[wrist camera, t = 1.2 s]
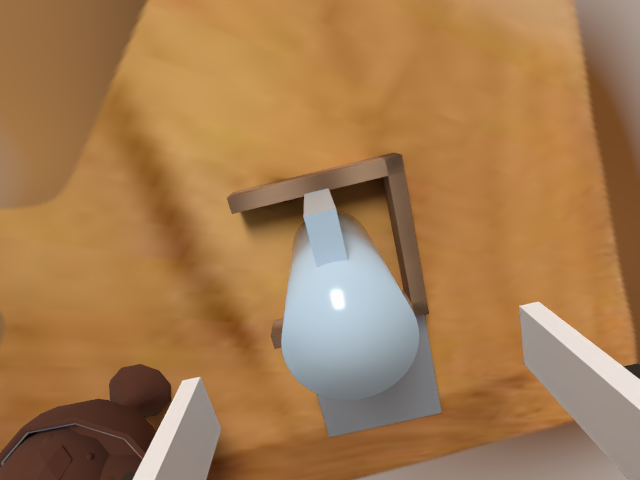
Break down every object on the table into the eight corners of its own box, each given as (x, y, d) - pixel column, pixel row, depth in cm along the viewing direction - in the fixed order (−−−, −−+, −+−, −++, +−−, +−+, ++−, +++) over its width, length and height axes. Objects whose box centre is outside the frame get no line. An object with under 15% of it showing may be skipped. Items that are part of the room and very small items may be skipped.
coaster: (329, 435, 36) (329, 437, 36) (301, 338, 33) (301, 340, 33) (440, 410, 36) (441, 412, 35) (423, 310, 32) (423, 312, 32)
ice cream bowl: (225, 383, 34) (164, 570, 20) (153, 456, 36) (51, 673, 22) (126, 314, 32) (-24, 469, 17) (56, 397, 34) (-131, 596, 19)
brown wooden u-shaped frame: (277, 332, 33) (274, 348, 30) (233, 192, 29) (226, 198, 27) (419, 299, 32) (428, 313, 30) (393, 152, 28) (401, 154, 26)
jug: (303, 292, 32) (300, 412, 18) (275, 190, 29) (247, 242, 16) (376, 274, 31) (428, 383, 18) (354, 170, 29) (396, 206, 15)
